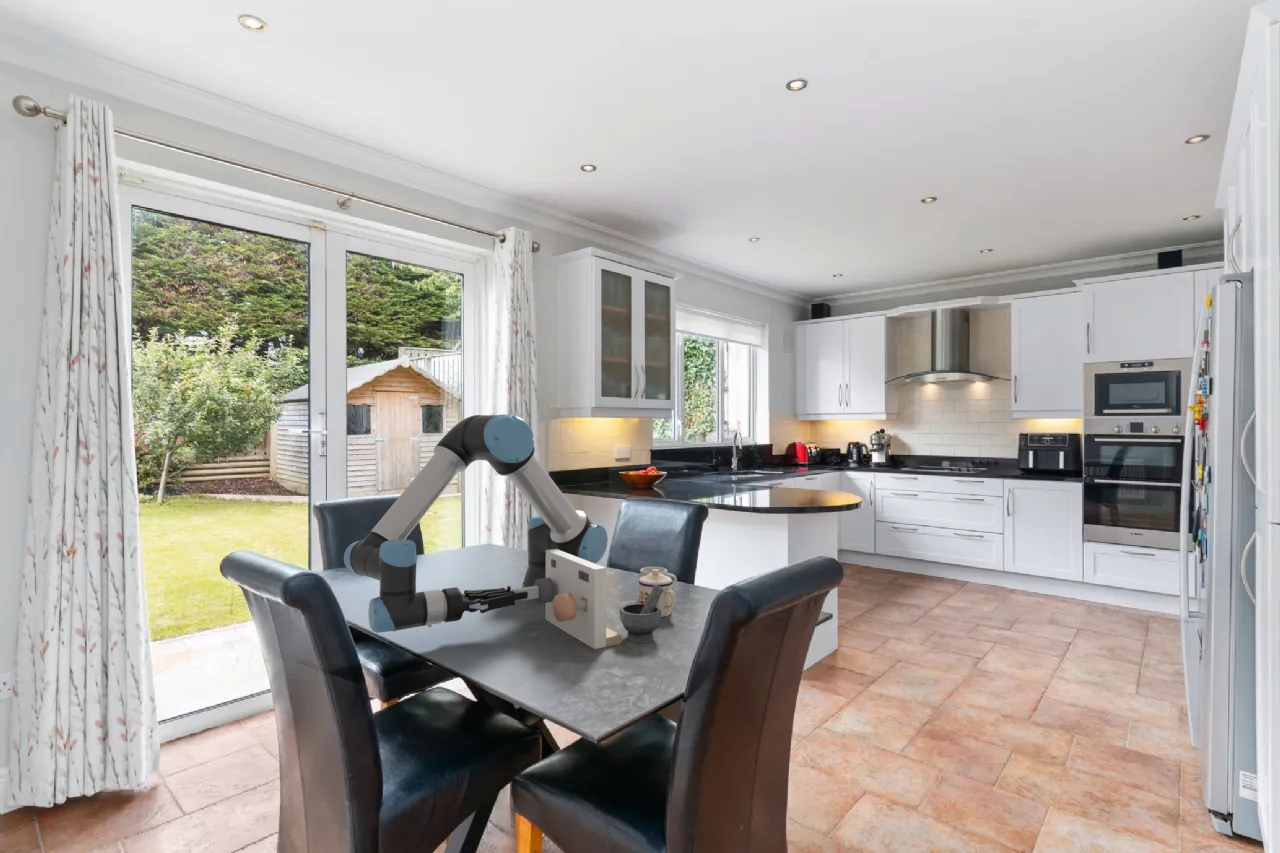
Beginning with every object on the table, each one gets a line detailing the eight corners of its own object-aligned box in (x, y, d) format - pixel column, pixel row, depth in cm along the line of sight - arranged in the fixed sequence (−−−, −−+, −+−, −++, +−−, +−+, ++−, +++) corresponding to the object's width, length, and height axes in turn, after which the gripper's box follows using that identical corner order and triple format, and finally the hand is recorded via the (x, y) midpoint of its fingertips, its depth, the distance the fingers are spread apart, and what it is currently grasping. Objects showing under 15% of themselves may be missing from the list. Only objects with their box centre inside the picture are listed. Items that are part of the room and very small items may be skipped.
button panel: (593, 649, 148) (593, 569, 148) (544, 619, 170) (544, 550, 169) (621, 643, 152) (621, 565, 152) (569, 615, 174) (570, 547, 173)
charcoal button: (543, 606, 161) (543, 581, 161) (533, 600, 166) (533, 576, 166) (578, 600, 166) (578, 577, 166) (567, 595, 171) (567, 572, 171)
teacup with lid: (631, 612, 176) (631, 569, 176) (656, 606, 182) (657, 564, 182) (661, 623, 167) (662, 577, 167) (687, 616, 173) (687, 572, 173)
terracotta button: (564, 625, 146) (564, 598, 146) (552, 618, 151) (553, 592, 151) (601, 618, 151) (601, 592, 151) (589, 611, 156) (589, 586, 156)
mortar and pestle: (632, 647, 149) (632, 594, 149) (612, 635, 158) (612, 585, 157) (673, 639, 155) (673, 588, 155) (652, 628, 163) (652, 580, 163)
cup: (677, 594, 196) (677, 567, 196) (676, 601, 188) (676, 573, 188) (641, 592, 197) (641, 566, 197) (638, 600, 189) (638, 572, 189)
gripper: (434, 615, 156) (526, 600, 169) (450, 630, 145) (548, 613, 158) (434, 583, 156) (527, 571, 169) (450, 596, 145) (548, 582, 158)
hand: (537, 591), depth 163 cm, fingers closed
